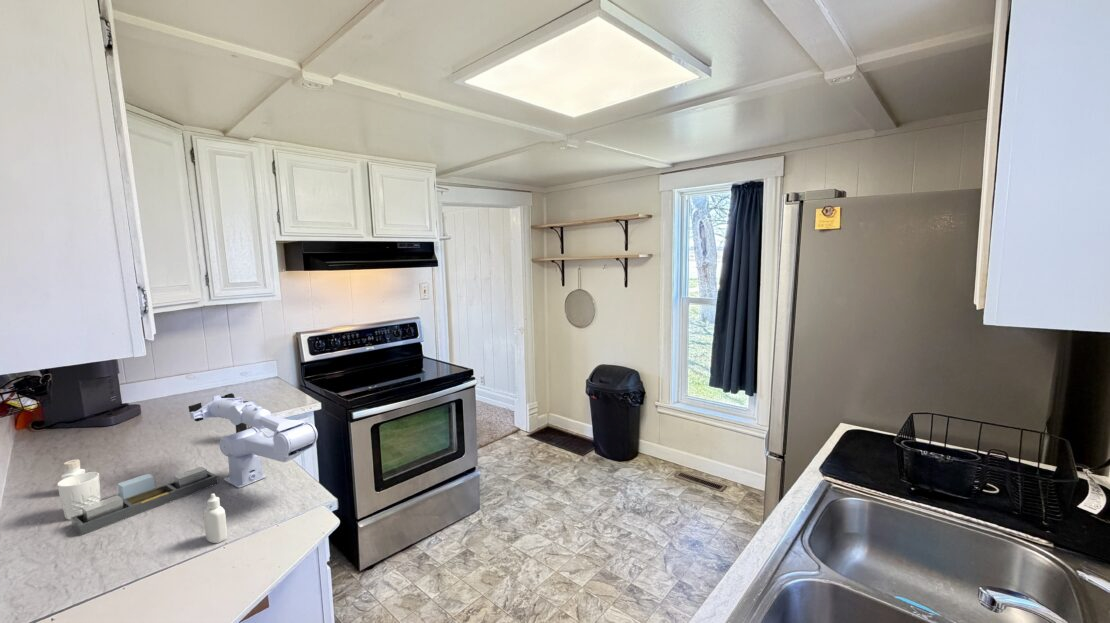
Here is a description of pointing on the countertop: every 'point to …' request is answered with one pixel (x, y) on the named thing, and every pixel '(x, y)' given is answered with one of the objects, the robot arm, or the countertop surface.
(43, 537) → the countertop surface
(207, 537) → the eye dropper bottle
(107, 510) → the tray
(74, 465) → the salt shaker
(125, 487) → the light blue rectangular block
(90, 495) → the white cup
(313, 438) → the robot arm
